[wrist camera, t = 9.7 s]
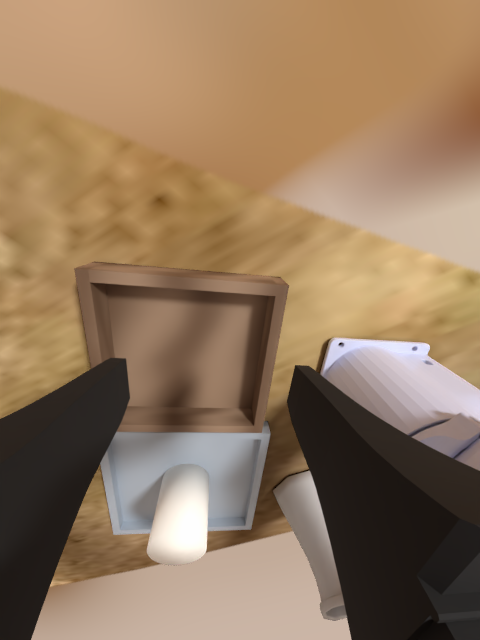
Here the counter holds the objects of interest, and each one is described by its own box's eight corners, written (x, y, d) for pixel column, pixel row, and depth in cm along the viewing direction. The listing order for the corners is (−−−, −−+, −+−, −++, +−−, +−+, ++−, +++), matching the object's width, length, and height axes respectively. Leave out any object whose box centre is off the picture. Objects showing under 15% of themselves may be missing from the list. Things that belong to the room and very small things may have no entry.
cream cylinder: (205, 460, 25) (201, 529, 19) (212, 490, 27) (210, 560, 21) (157, 467, 25) (140, 538, 19) (168, 496, 27) (154, 568, 21)
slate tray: (267, 421, 24) (270, 433, 23) (249, 515, 30) (251, 529, 29) (102, 419, 22) (94, 432, 21) (118, 519, 28) (113, 534, 27)
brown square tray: (280, 277, 18) (288, 285, 16) (257, 412, 24) (261, 432, 21) (94, 261, 17) (74, 268, 14) (114, 409, 22) (101, 431, 20)
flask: (292, 513, 31) (323, 637, 22) (261, 488, 28) (282, 616, 19) (341, 489, 30) (395, 609, 21) (313, 460, 27) (361, 582, 18)
